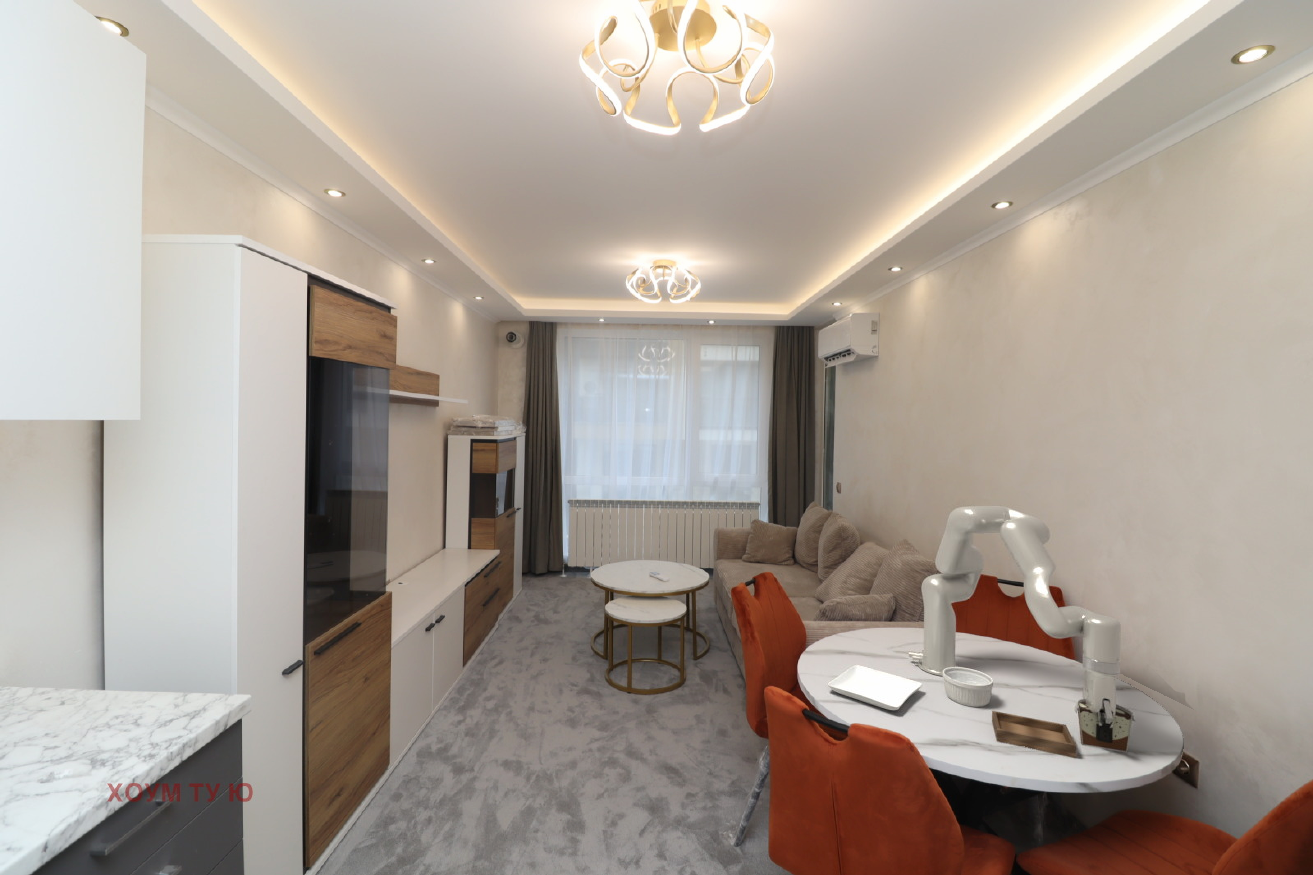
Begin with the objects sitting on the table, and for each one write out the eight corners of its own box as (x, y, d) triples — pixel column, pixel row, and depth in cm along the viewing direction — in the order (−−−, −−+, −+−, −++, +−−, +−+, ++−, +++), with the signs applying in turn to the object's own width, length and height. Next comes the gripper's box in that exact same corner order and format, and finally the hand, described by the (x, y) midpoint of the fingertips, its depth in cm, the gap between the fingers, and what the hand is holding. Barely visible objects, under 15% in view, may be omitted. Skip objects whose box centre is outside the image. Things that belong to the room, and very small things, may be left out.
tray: (996, 741, 144) (997, 729, 144) (991, 721, 154) (992, 710, 154) (1076, 758, 137) (1076, 745, 137) (1065, 736, 147) (1065, 724, 147)
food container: (1123, 741, 145) (1123, 702, 145) (1134, 753, 139) (1135, 713, 139) (1066, 732, 149) (1067, 694, 149) (1075, 744, 143) (1076, 704, 143)
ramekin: (932, 693, 171) (932, 670, 171) (962, 686, 176) (963, 663, 176) (971, 713, 159) (972, 688, 159) (1003, 705, 164) (1003, 681, 164)
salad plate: (825, 694, 169) (825, 683, 169) (855, 673, 185) (855, 662, 185) (897, 719, 155) (898, 707, 155) (923, 694, 171) (923, 683, 171)
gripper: (1074, 650, 154) (1073, 715, 154) (1092, 674, 138) (1090, 747, 138) (1109, 655, 150) (1107, 722, 151) (1130, 681, 135) (1129, 755, 135)
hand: (1099, 733), depth 144 cm, fingers open, 7 cm apart
